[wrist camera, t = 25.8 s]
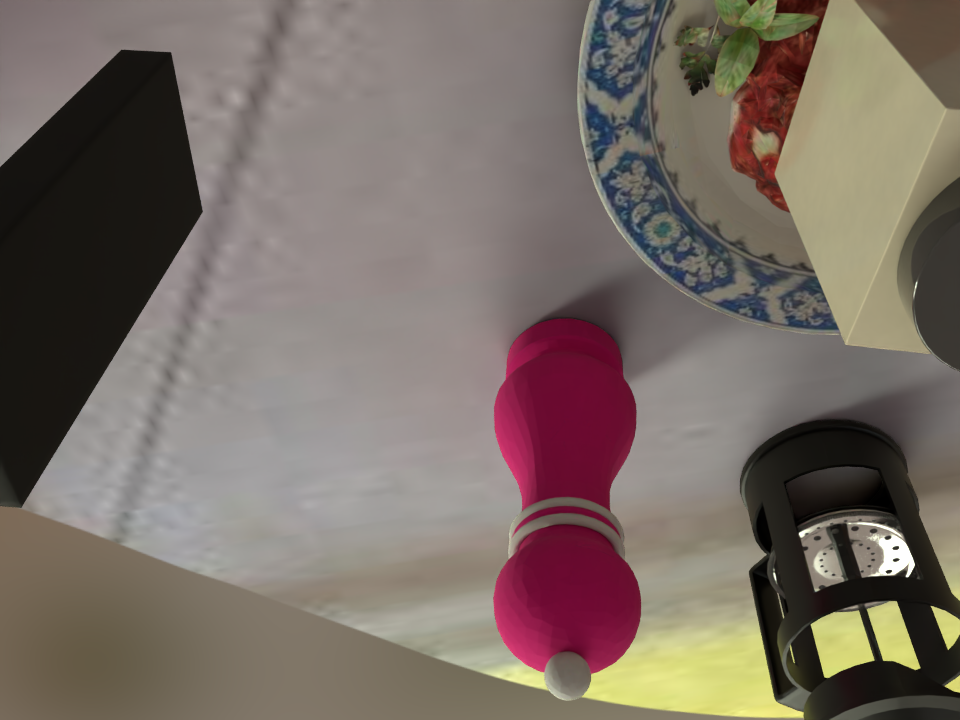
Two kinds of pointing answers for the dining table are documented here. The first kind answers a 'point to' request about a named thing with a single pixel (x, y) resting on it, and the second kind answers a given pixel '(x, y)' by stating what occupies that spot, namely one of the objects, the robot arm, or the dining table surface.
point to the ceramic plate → (704, 146)
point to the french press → (847, 578)
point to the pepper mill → (566, 504)
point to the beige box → (882, 172)
